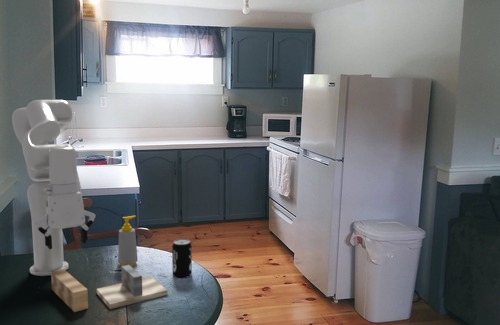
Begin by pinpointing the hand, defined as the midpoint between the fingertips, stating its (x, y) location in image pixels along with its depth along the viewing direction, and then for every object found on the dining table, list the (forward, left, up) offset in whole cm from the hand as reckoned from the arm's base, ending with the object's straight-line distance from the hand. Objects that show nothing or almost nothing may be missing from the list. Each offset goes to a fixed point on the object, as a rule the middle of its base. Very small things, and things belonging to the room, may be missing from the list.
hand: (67, 245), depth 138 cm
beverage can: (+2, +37, -17) cm, 41 cm away
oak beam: (0, 0, -17) cm, 17 cm away
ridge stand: (+7, +17, -17) cm, 25 cm away
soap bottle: (-18, +25, -17) cm, 35 cm away
